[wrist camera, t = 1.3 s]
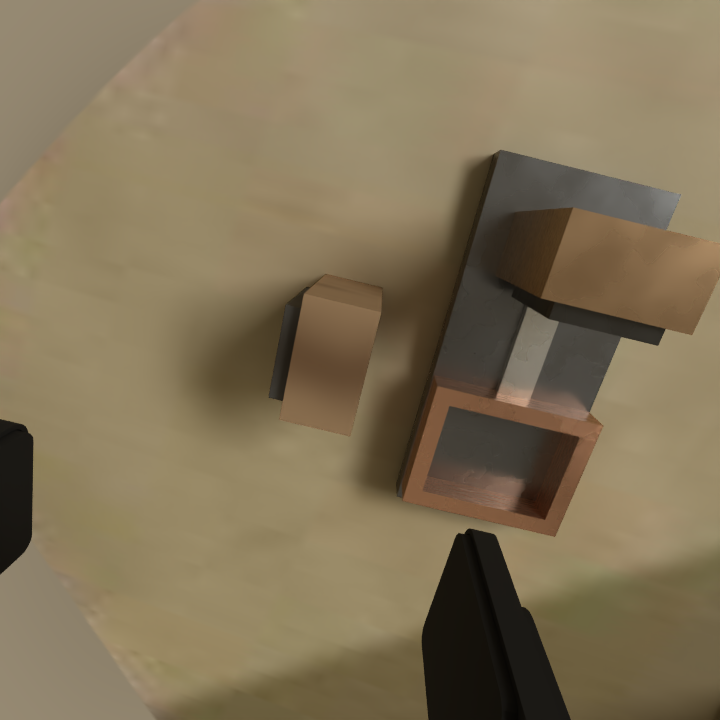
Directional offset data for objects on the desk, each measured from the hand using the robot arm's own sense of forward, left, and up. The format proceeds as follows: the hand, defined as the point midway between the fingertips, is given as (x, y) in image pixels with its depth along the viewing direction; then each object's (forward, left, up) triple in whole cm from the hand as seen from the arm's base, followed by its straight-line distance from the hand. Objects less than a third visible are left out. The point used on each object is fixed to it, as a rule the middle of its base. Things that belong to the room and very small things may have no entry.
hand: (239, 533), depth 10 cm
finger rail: (+1, -12, -20) cm, 23 cm away
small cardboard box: (0, 0, -20) cm, 20 cm away
